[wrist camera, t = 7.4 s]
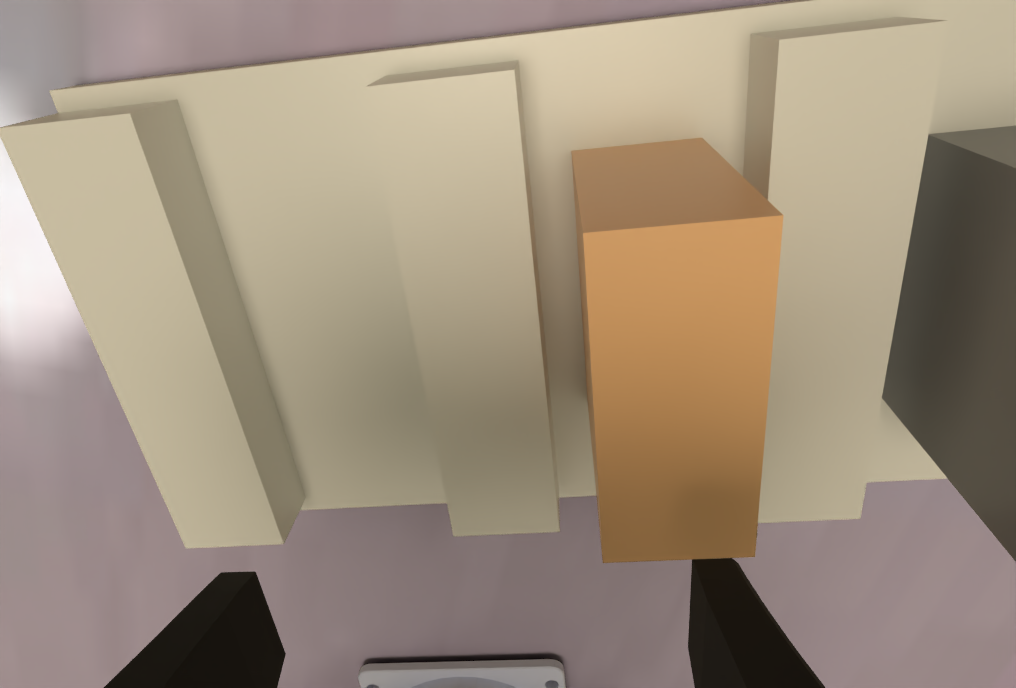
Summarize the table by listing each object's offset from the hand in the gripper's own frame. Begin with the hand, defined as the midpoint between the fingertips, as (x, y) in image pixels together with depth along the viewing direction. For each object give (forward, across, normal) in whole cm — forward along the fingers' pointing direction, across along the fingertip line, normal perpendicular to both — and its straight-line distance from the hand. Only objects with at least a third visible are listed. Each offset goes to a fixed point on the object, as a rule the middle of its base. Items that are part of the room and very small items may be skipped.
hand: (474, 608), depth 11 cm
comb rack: (+9, -4, -2) cm, 10 cm away
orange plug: (+8, -4, -2) cm, 9 cm away
